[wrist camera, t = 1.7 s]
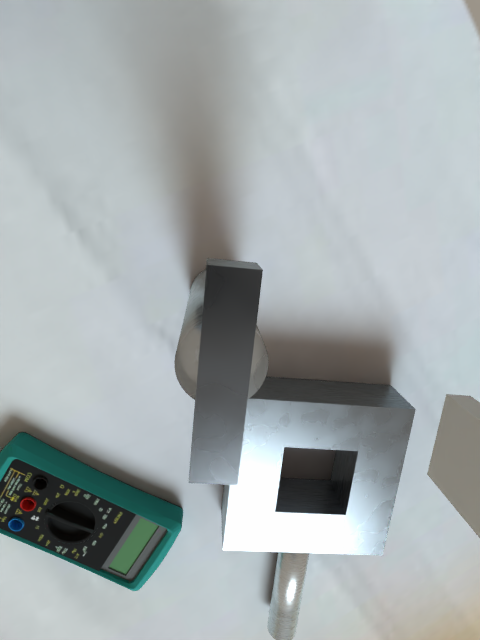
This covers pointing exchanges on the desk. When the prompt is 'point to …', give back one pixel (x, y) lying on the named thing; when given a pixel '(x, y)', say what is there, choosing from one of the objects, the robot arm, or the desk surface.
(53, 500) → the digital multimeter
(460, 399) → the robot arm
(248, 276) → the t key
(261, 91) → the desk surface
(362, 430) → the block
